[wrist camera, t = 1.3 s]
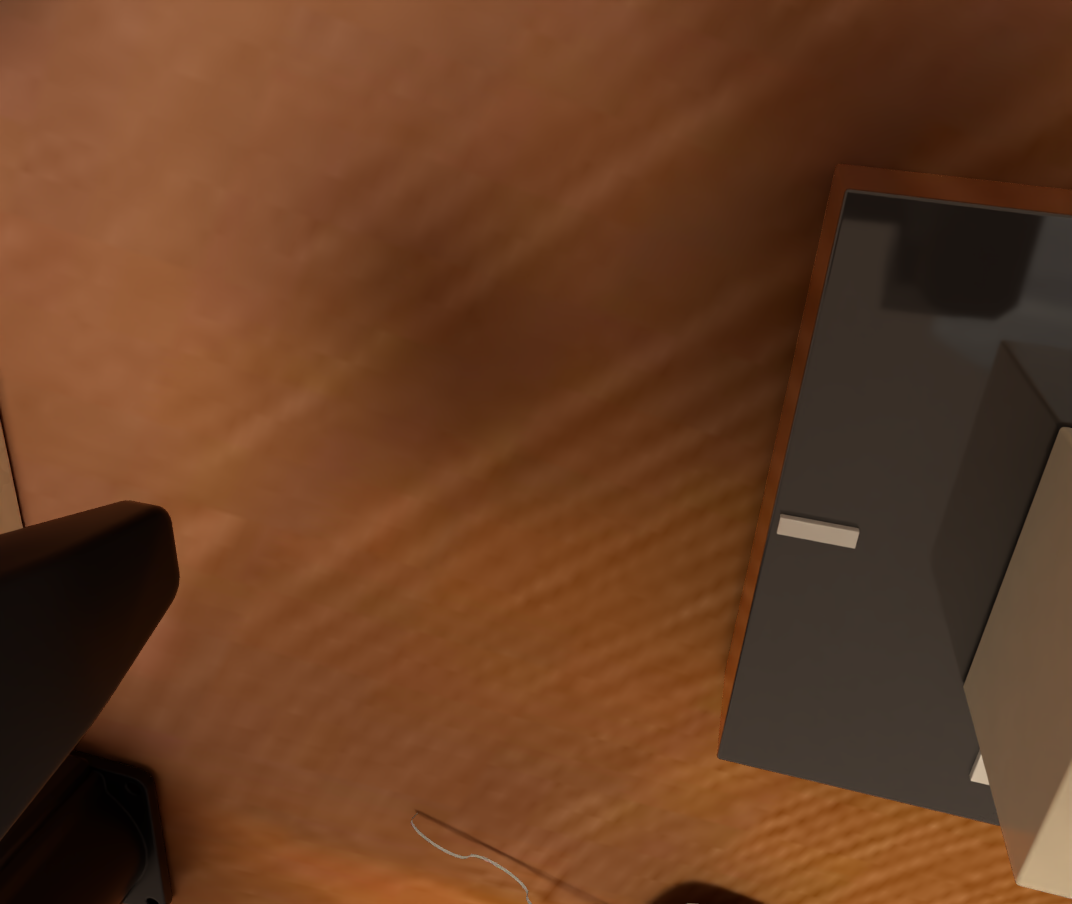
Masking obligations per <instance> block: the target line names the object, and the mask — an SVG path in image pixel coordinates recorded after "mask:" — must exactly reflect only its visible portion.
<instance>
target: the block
mask: <svg viewBox="0 0 1072 904" xmlns="http://www.w3.org/2000/svg"><path fill="white" fill-rule="evenodd" d="M21 528H23V525H22V521H21V516H20V511H19V506H18V501H17V497H16V492H15V487H14V482H13V478H12V473H11V468H10V463H9V458H8V454H7V449H6V444H5V439H4V435H3V430H2V425H1V420H0V534H3V533H7V532H10V531H14V530H18V529H21Z"/></svg>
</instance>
